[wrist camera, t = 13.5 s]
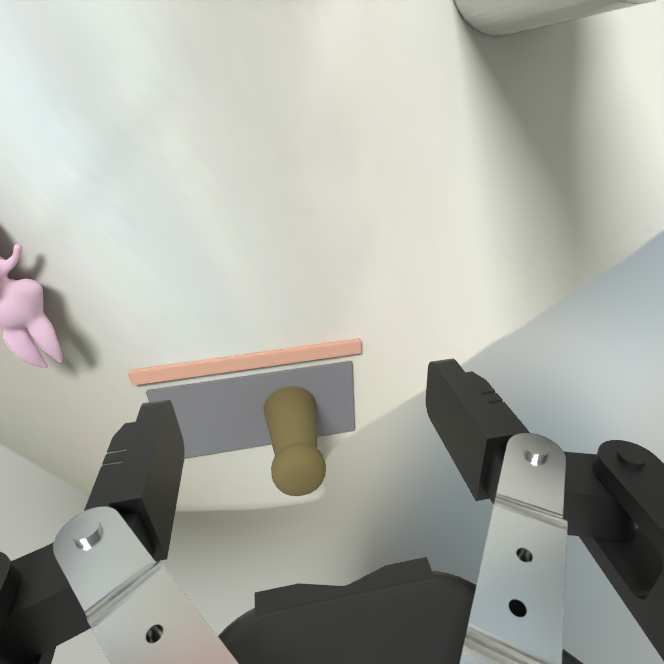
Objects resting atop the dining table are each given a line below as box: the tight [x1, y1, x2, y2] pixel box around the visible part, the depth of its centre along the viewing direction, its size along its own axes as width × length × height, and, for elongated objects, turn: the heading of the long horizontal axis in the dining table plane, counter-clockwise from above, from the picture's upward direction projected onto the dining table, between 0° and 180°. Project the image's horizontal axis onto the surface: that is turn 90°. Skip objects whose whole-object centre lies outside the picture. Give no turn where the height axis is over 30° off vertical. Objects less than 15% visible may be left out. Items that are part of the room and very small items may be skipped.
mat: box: [146, 361, 354, 458], centre depth 48 cm, size 22×10×1 cm, turn 93°
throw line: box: [128, 339, 361, 385], centre depth 45 cm, size 24×2×1 cm, turn 93°
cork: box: [264, 386, 326, 496], centre depth 44 cm, size 6×6×11 cm
